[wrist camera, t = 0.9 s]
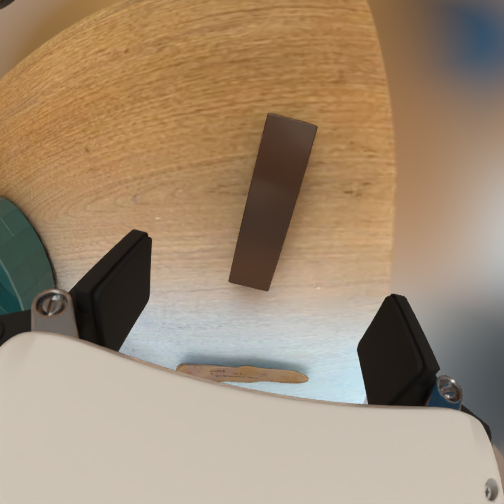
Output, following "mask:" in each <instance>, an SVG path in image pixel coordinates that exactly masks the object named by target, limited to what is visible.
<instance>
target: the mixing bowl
mask: <svg viewBox="0 0 504 504" xmlns="http://www.w3.org/2000/svg"><path fill="white" fill-rule="evenodd" d="M48 289H55V284H54V279H53V274H52V269H51V266H50V263H49V261H48V258H47V255H46V253H45V250H44V247H43V245H42V243H41V242H40V240H39V238H38V236H37V234H36V233H35V231H34V229H33V227H32V225H31V224H30V223H29V222H28V220H27V219H26V218H25V216H24V215H23V214H22V213H21V211H20V210H19V209H18V208H17V207H16V206H15V205H13V204H12V203H11V202H10V201H8V200H7V199H6V198H3V197H0V315H4V314H9V313H14V312H19V311H24V310H29V309H31V305H32V301H33V299H34V298H35V296H37V295H38V294H39V293H40V292H42V291H44V290H48Z"/></svg>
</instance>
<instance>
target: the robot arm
mask: <svg viewBox="0 0 504 504" xmlns="http://www.w3.org/2000/svg"><path fill="white" fill-rule="evenodd" d="M151 248H152V238H150V237H148V233H146V232H142V231H139V230H135V229H133V230H132V231H131V232H129V233H128V234H127V235H126V236H125V237H124V238H123V239H122V240H121V241H120V242H119V243H117V244H116V245H115V246H114V247H113V248H112V249H111V250H110V251H109V252H108V253H107V254H106V255H105V256H104V257H103V258H102V259H101V260H100V261H99V262H98V263H97V264H96V265H95V266H94V267H93V268H92V269H91V270H90V271H89V272H88V273H87V274H86V275H85V276H84V277H83V278H82V279H81V280H80V281H79V282H78V283H77V284H76V285H75V286H74V287H73V288H72V289H71V290H70V291H69V292H66V291H64V290H61V289H48V290H44V291H42V292H40V293H39V294H38V295H37V296H35V298H34V299H33V301H32V305H31V309H29V310H24V311H19V312H14V313H9V314H4V315H0V504H504V457H503V456H502V454H501V453H500V452H499V450H498V449H497V447H496V446H495V444H494V443H492V444H491V431H490V428H489V426H488V425H487V424H486V423H484V422H483V421H482V420H481V419H479V418H478V417H477V416H476V415H474V414H473V413H472V412H470V411H469V410H468V409H467V408H466V407H464V406H463V405H462V402H463V391H462V388H461V386H460V385H459V384H458V382H457V381H456V380H455V379H453V378H452V377H450V376H447V375H441V376H439V377H438V378H437V377H436V373H437V372H438V371H439V370H440V367H439V365H438V363H437V360H436V358H435V356H434V354H433V351H432V349H431V347H430V345H429V343H428V341H427V339H426V337H425V335H424V332H423V330H422V328H421V326H420V324H419V322H418V320H417V318H416V316H415V314H414V312H413V311H412V308H411V306H410V305H409V303H408V301H407V299H406V297H404V296H401V295H397V294H391V295H390V296H387V297H386V298H385V300H384V301H383V303H382V305H381V307H380V308H379V310H378V312H377V314H376V315H375V317H374V319H373V321H372V322H371V324H370V326H369V327H368V329H367V331H366V332H365V334H364V335H363V337H362V339H361V340H360V342H359V344H358V347H357V352H358V357H359V361H360V366H361V371H362V375H363V380H364V385H365V390H366V395H367V400H368V405H366V404H353V403H342V402H332V401H323V400H315V399H307V398H300V397H293V396H286V395H280V394H274V393H269V392H263V391H258V390H253V389H248V388H243V387H238V386H234V385H229V384H225V383H221V382H216V381H212V380H208V379H204V378H200V377H197V376H193V375H189V374H186V373H182V372H179V371H175V370H172V369H168V368H165V367H162V366H159V365H156V364H152V363H149V362H146V361H143V360H140V359H137V358H134V357H131V356H128V355H125V354H122V353H119V352H118V351H119V349H120V347H121V346H122V344H123V342H124V341H125V339H126V337H127V335H128V334H129V332H130V330H131V329H132V327H133V325H134V324H135V322H136V320H137V319H138V317H139V316H140V314H141V312H142V311H143V309H144V307H145V306H146V304H147V302H148V300H149V296H150V269H151Z"/></svg>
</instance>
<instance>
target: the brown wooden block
mask: <svg viewBox="0 0 504 504" xmlns="http://www.w3.org/2000/svg"><path fill="white" fill-rule="evenodd" d="M317 128H318V127H317V126H316V125H313V124H311V123H307V122H304V121H300V120H297V119H293V118H289V117H285V116H281V115H277V114H273V113H268V115H267V119H266V123H265V127H264V131H263V135H262V139H261V143H260V147H259V151H258V155H257V160H256V164H255V168H254V172H253V176H252V180H251V185H250V189H249V193H248V197H247V202H246V206H245V210H244V214H243V219H242V223H241V227H240V232H239V236H238V241H237V245H236V249H235V254H234V258H233V263H232V267H231V272H230V276H229V282H230V283H234V284H238V285H242V286H247V287H251V288H255V289H259V290H263V291H268V290H269V287H270V284H271V281H272V278H273V275H274V272H275V269H276V265H277V262H278V259H279V256H280V253H281V250H282V246H283V243H284V240H285V237H286V233H287V230H288V227H289V224H290V220H291V217H292V214H293V210H294V207H295V204H296V200H297V197H298V194H299V190H300V187H301V184H302V180H303V177H304V173H305V170H306V166H307V163H308V159H309V156H310V152H311V149H312V145H313V142H314V138H315V135H316V131H317Z"/></svg>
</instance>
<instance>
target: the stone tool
mask: <svg viewBox="0 0 504 504" xmlns="http://www.w3.org/2000/svg"><path fill="white" fill-rule="evenodd" d="M176 371H179V372H182V373H186V374H189V375H193V376H197V377H200V378H204V379H208V380H212V381H216V382H225V381H231V382H246V383H251V382H258V381H270V382H280V383H304V382H307V381H308V379H309V378H308V377H307V376H305V375H303V374H301V373H299V372H297V371H292V370H281V369H267V368H258V367H253V366H247V365H246V366H241V367H227V366H218V365H208V364H180V365H179V366H178V367H177V368H176Z"/></svg>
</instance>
